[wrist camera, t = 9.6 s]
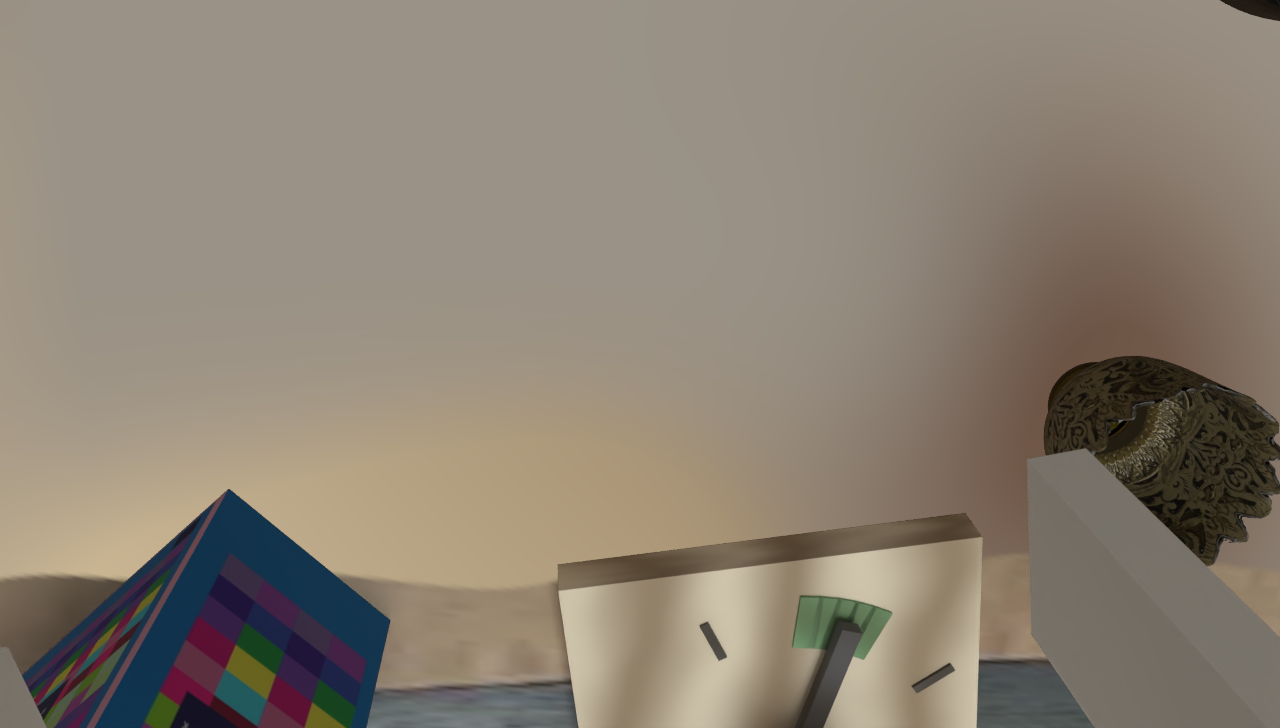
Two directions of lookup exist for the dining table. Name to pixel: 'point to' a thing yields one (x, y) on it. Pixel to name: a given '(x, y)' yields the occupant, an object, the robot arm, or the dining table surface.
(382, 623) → the box
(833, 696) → the peg
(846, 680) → the tuner board
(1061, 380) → the cup
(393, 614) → the dining table surface
